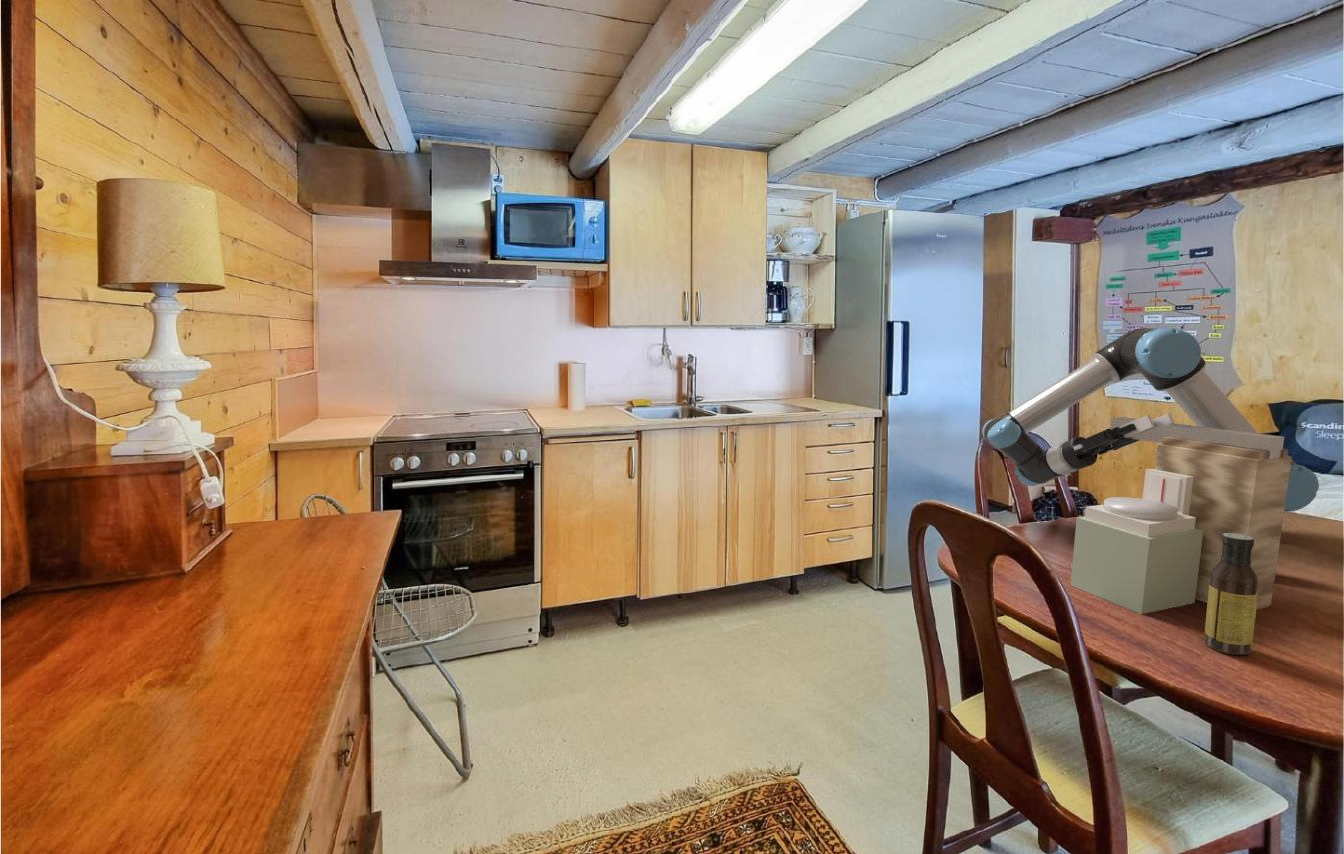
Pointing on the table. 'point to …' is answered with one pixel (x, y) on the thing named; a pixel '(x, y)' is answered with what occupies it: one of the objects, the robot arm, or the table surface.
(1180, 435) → the bar
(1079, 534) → the block
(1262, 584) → the birch stand
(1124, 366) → the robot arm
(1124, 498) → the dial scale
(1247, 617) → the sauce bottle
